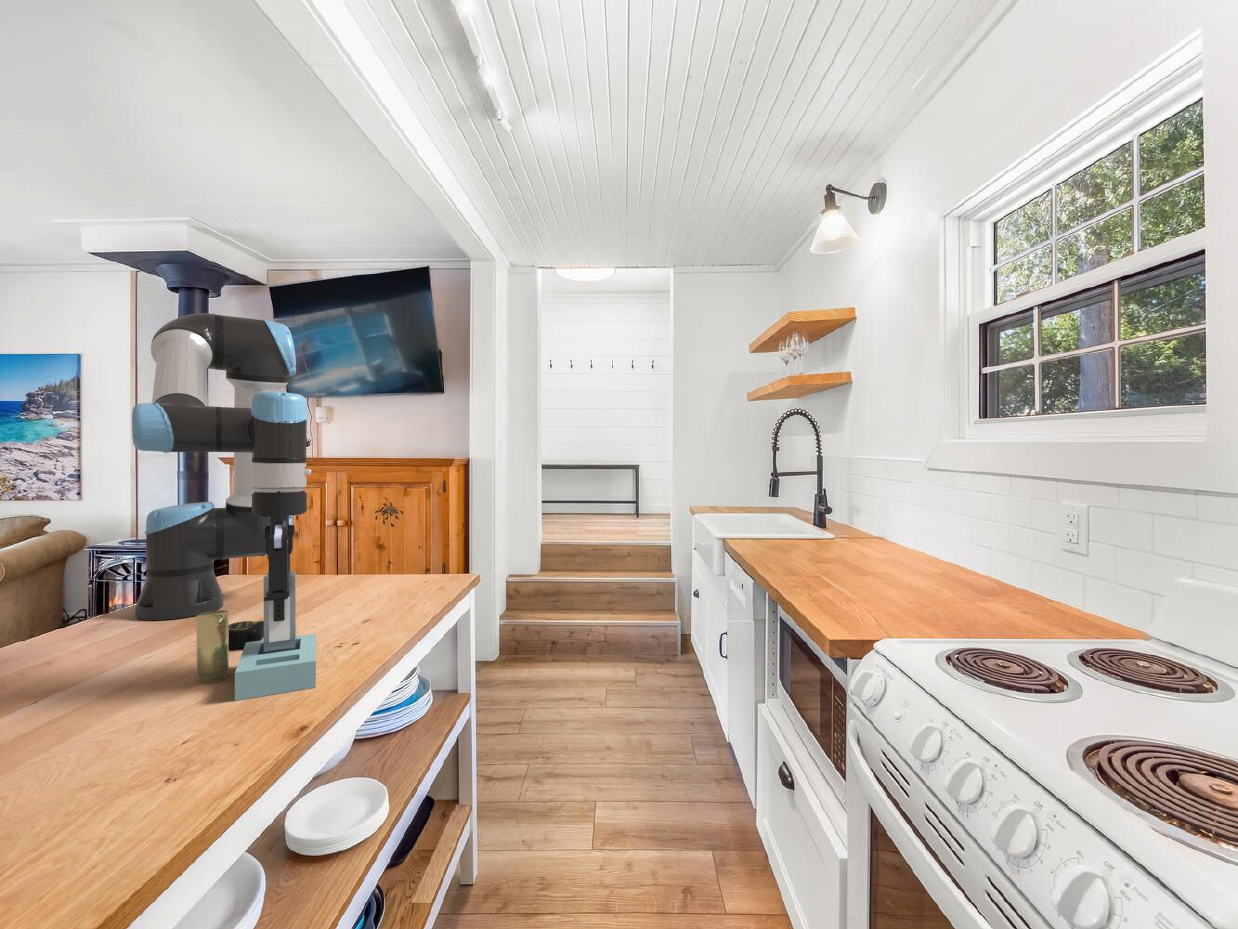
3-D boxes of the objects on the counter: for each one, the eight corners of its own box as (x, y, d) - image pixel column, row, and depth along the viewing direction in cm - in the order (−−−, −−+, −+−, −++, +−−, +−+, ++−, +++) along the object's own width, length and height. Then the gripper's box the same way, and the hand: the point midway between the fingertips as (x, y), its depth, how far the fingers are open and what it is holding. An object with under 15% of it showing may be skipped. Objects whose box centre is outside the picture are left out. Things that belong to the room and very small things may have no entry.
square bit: (265, 647, 90) (265, 573, 90) (295, 643, 92) (295, 570, 92) (263, 655, 86) (263, 578, 86) (295, 651, 88) (295, 575, 88)
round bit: (199, 675, 87) (199, 612, 87) (230, 671, 89) (230, 609, 89) (194, 685, 83) (194, 619, 83) (226, 680, 85) (226, 615, 85)
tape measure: (259, 650, 99) (260, 629, 99) (214, 653, 97) (214, 632, 97) (271, 637, 105) (271, 618, 105) (228, 641, 103) (228, 621, 103)
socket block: (246, 666, 91) (246, 642, 91) (315, 656, 95) (315, 633, 95) (234, 700, 78) (234, 672, 78) (315, 687, 83) (315, 660, 83)
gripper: (306, 492, 83) (306, 648, 83) (307, 486, 98) (307, 618, 98) (245, 494, 79) (246, 657, 80) (257, 487, 94) (257, 624, 95)
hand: (280, 635), depth 89 cm, fingers closed on square bit, 4 cm apart
